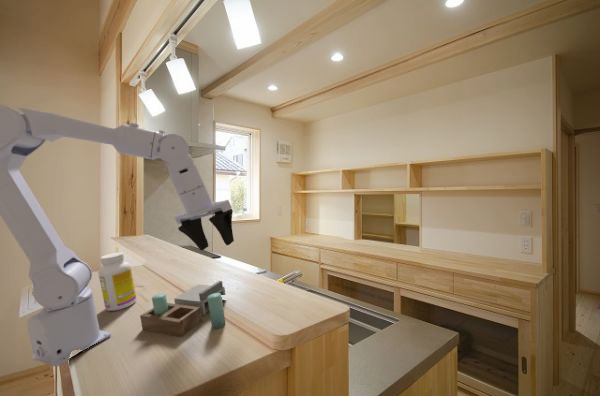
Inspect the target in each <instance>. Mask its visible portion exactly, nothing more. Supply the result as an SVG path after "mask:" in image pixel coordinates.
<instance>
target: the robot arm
mask: <svg viewBox="0 0 600 396" xmlns="http://www.w3.org/2000/svg"><path fill="white" fill-rule="evenodd" d="M17 110H19V111H17ZM17 110H16V109H14V108H13V107H10V106H8V105H4V104H0V218H1V220H3V222H4V224H5V225H6V226H7V228H8V230H9V231H10V233H11V234H12V236H13V237H14V239H15V241H16V242H17V244H18V246H20V248H21V250H22V251H23V253H24V255H25V256H26V258H27V259H28V261H29V271H28V278H29V279H30V281H31V283H32V285H33V292H32V293H33V298H34V299H35V301H36V303H37V304H38V305H40V306H41V307H43V308H42V310H40V311H39V312H37V313H35V314H34V315H31V316H30V317H29V318H28V320H27V324H26V325H27V333H28V336H29V342H30V345H31V350H32V354H33V355H32V360H35V361H38V362H40V363H43V364H46V365H49V366H53V367H59V366H62V364H64V363H66V362H68V361H70V359H69V357H70V354H71V352H72V351H74V350H79V349H80V350H84V349H86V348H88V347H90V346H92V345H94V344H95V345H97V344H99V343H100V342H102V341H104V340H105V339H107V338H108V337H110V336H111V335H112V332H109V331H104V330H102V329H101V330H100V324H99V320H98V315H97V314H98V313H97V309H96V305H95V300H94V299H95V298H94V295H93V291H92V289H91V288H90V287H89V286H88V284H89V283H90V282H91V280H92V276H93V272H92V268H91V267H90V265H89V264H88V263H87V262H85V261H83V260H81V259H80V258H79V257H78V256H77V254H76V252H75V251H73V250H72V249H70V248H68V247H67V246H65V244H64V243H63V241H62V239H61V238H60V235H58V233H57V231H56V229H55V227H54V226H53V225H52V223H51V221H50V219H49V218H48V216H47V215H46V212H45V210H44V209H43V208H42V206H41V205H40V203H39V201H38V200H37V198H36V196H35V195H34V193H33V192H32V189H31V188H30V186H29V185H28V183H27V182H26V180H25V178H24V176H23V175H22V174H21V171H20V169H21V167H22V165H24V164H23V163H24V162H25V161H26V159H27V158H28V157H29V156H30V155H32V154H33V153H35V152H36V151H37V150H38V149H39V148H41V147H42V146H43V145H44V144H45V143H46V142H47V141H49V142H56V141H57V140H60V139H62V138H71V139H75V140H76V139H77V140H82V141H89V142H93V143H100V144H105V145H111V146H112V147H113V148H114V149H115V150H116V151H117V153H118V154H120V155H121V154H122V155H128V156H133V157H138V158H143V159H148V160H152V161H153V160H156V159H161V160H162V162H164V163H165V166H166V168H167V170H168V172H169V174H168V175H169V178H170V180H171V182H172V185H173V186H174V189H175V190H176V193H177V195H178V197H179V199H180V201H181V203H182V205H183V207H184V208H183V209H184V210H185V212H182V213H180V214H177V215H175V216H174V219H175V221H176V224H177V225H181V226H179V227H178V231H180V232H181V233H183V234H184V235H185V236H187V237H188V238H189V239H190V240H191V241H192V242H193V243H194V244H195V245H196V247H197V248H198V249H199V251H204V250H205V249H207V248H208V247H209V242H208V238H207V237H206V234H205V232H204V228H203V223H202V218H205V217H208V216H211V217H210V218H208V221H209V222H210V223H211V224H212V225H213V226H214V227H215V229H216V230H217V231H218V233H219V235H220V237H221V239H222V241H223V242H224V244H225V245H226V246H230V245H231V244H232V243H233V242H235V240H234V238H235V237H234V233H233V223H232V220H233V212H234V211H233V209H232V206H231V203H230V201H229V199H226V200H223V201H222V200H221V201H216V202H215V201H213V200H212V198H211V197H210V194H209V192H208V190H207V189H208V188H207V187H206V185H205V183H204V180H203V178H202V176H201V174H200V172H199V169H198V167H197V165H196V164H195V163H194V161H195V160H194V159H193V157H192V156H191V155H190V154H189V153H190V145H189V144H190V143H188V142H187V141H186V140H185V138H184V137H182V136H180V135H179V134H175V133H169V134H166V132H165V130H162V129H159V131H156V130H151V129H146V128H143V127H140V125H139V124H138V123H135V122H130V124H125V123H123V124H121V125H119V126H117V127H115V128H113V127H108V126H104V125H100V124H98V123H97V124H96V123H92V122H89V121H85V120H80V119H77V118H72V117H70V116H69V117H68V116H65V115H60V114H56V113H53V112H52V113H51V112H47V111H42V110H37V109H31V108H24V107H17ZM98 342H99V343H98ZM96 343H97V344H96ZM95 345H94V346H95ZM92 347H93V346H92ZM90 348H91V347H90ZM88 349H89V348H88Z"/></svg>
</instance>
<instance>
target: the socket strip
mask: <svg viewBox="0 0 600 396" xmlns="http://www.w3.org/2000/svg"><path fill="white" fill-rule="evenodd" d="M167 304H168V310H169V311H167V312H166V313H164V314H162V315H161V316H158V315H155V314H154V308H151V309H149V310H147V311H145V312H143V313H142V314H141V315H139V317H140V322H141V323H140V324H141V328H142V330H144V331H147V332H154V333H158V334H163V335H169V336H175V337H178V338H182V337H184V336H185V335H186V334H188V333H189V332H190V331H191V330H193V329H194V328H196V327H197V326H198V325H200V324H201V323H202V322H203V315H201V308H200V307H194V306H187V305H179V304H175V303H171V302H167Z"/></svg>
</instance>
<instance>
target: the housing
mask: <svg viewBox="0 0 600 396" xmlns="http://www.w3.org/2000/svg"><path fill="white" fill-rule="evenodd" d="M223 285H224V284H223V281H222V280H218V281H217V282H215V283H214V284H212V285H208V284H207V285H206V284H197V285H195V286H193V287H192V288H190V289H188V290H186V291H185V292H183V293H181V294H179V295H177V296H176V297H174V299H173V300H174V304H179V305H187V306H194V307H200V308H201V315H202V316H205V315H206V314H207V312H206V310H205V304H204V303H205V302H207V301H208V298H207V297H208V296H209V295H211V294H214V293H220V294H221V295H226V288H225V286H223Z"/></svg>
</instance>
